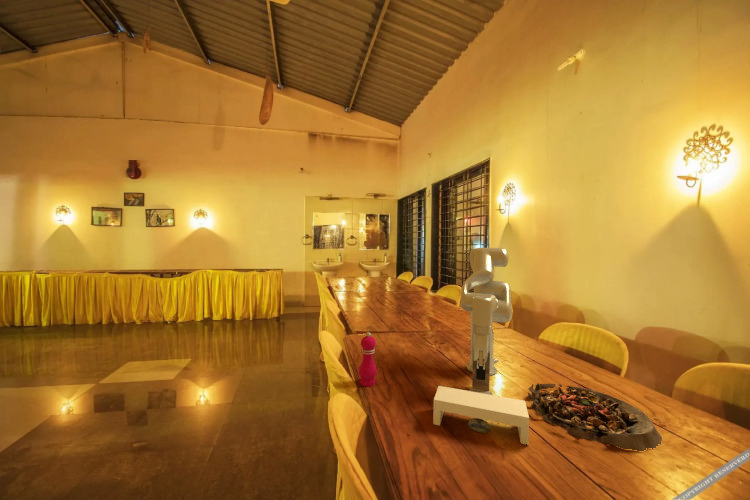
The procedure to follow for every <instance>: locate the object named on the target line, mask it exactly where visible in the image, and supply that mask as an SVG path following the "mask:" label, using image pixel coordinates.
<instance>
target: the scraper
mask: <svg viewBox="0 0 750 500" xmlns="http://www.w3.org/2000/svg"><path fill="white" fill-rule="evenodd" d="M478 360H479V359H478ZM483 361H484V360H483ZM476 368H477V361H476V360H475V361H474V360H473V373H472V386H471V387H469V389H468V391H472V392H477V393H483V394H489V395H493V391H491V390H490V375H489V374H490V350H488V356H487V362H485V380H479V379H476Z"/></svg>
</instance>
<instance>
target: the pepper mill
mask: <svg viewBox="0 0 750 500" xmlns="http://www.w3.org/2000/svg"><path fill="white" fill-rule="evenodd" d="M376 345H377V342H376V338H374V336H372V334H371V332H368V331H367V332H366V334H365V336H364V337H362V338H361V340H360V347H361V353H362V361H361V363H360V365H359V367H358V375H359V384H360V386H363V387H368V388H370V387H373V386H375V385H376V381H377V379H376V376H377V374H378V369H377V366H376V363H375V361H374V353H375V347H376Z"/></svg>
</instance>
